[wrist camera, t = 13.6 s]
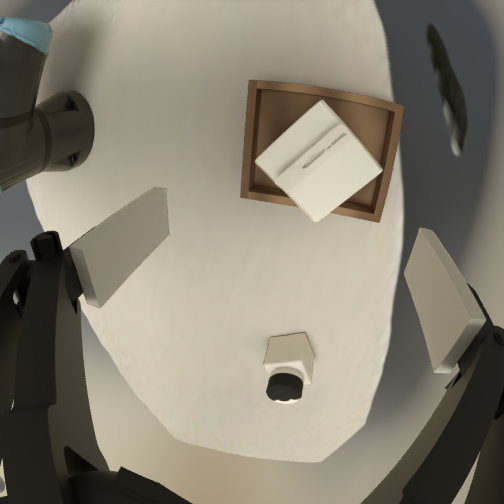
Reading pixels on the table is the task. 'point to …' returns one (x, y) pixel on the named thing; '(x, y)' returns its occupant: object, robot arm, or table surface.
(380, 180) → the walnut tray
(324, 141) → the ink box
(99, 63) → the table surface
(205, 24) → the table surface
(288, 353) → the medicine bottle
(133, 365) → the table surface
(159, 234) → the robot arm
